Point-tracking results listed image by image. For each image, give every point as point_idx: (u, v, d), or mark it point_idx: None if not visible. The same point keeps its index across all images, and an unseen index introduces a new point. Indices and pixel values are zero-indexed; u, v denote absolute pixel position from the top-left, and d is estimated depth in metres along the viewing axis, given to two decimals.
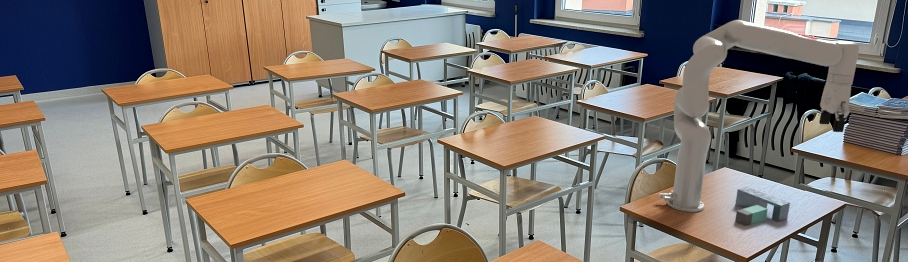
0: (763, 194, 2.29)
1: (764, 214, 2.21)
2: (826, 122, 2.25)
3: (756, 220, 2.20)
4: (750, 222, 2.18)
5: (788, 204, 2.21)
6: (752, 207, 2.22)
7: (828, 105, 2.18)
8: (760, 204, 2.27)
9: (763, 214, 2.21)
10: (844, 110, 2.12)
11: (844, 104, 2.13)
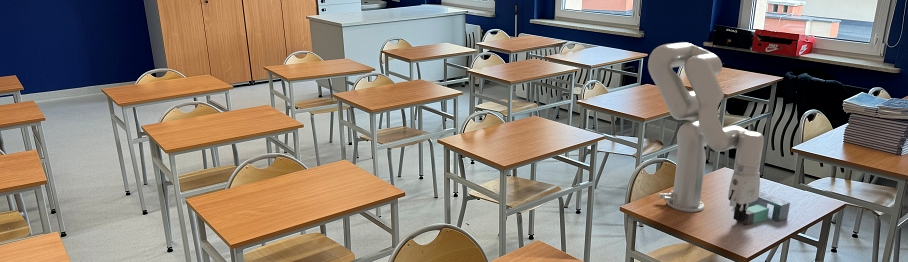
0: (763, 194, 2.29)
1: (765, 213, 2.22)
2: None
3: (758, 219, 2.20)
4: (752, 222, 2.18)
5: (788, 204, 2.21)
6: (753, 207, 2.23)
7: (752, 196, 2.13)
8: (760, 204, 2.27)
9: (764, 213, 2.21)
10: None
11: None
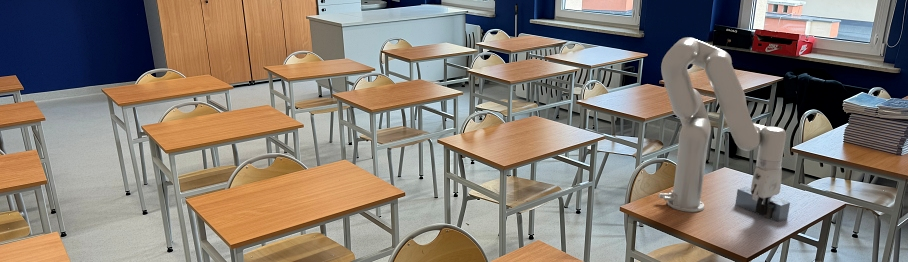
0: None
1: None
2: None
3: None
4: None
5: (788, 204, 2.21)
6: None
7: (774, 190, 2.19)
8: None
9: None
10: None
11: None
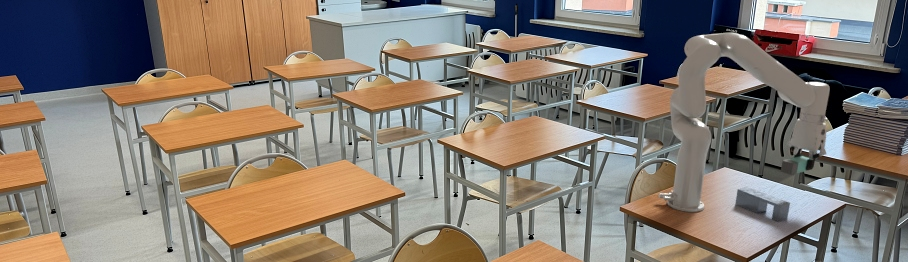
0: (763, 194, 2.29)
1: None
2: None
3: (801, 170, 2.26)
4: (796, 171, 2.24)
5: (788, 204, 2.21)
6: (797, 157, 2.29)
7: None
8: (760, 204, 2.27)
9: None
10: None
11: None
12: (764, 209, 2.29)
